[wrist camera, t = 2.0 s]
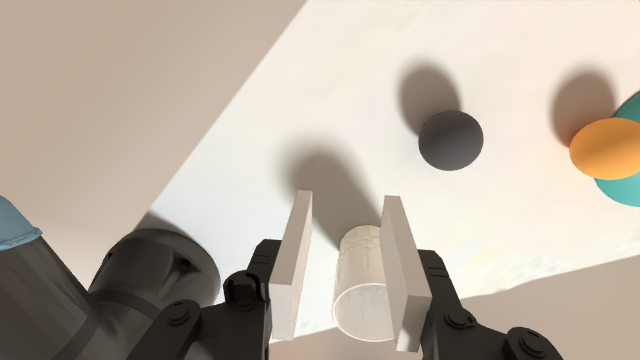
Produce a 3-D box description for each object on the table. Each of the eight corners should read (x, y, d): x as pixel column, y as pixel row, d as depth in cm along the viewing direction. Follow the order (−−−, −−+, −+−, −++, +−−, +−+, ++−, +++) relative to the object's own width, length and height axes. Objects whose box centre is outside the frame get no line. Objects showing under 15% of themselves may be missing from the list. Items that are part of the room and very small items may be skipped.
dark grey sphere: (409, 156, 32) (420, 178, 27) (418, 103, 29) (432, 117, 24) (462, 159, 31) (484, 182, 26) (476, 106, 29) (503, 121, 24)
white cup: (355, 209, 35) (358, 270, 26) (412, 237, 36) (434, 304, 27) (324, 255, 38) (317, 322, 29) (377, 279, 39) (386, 351, 31)
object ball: (547, 163, 31) (586, 188, 26) (568, 110, 28) (615, 126, 23) (604, 166, 30) (654, 192, 26) (630, 112, 28) (691, 129, 23)
